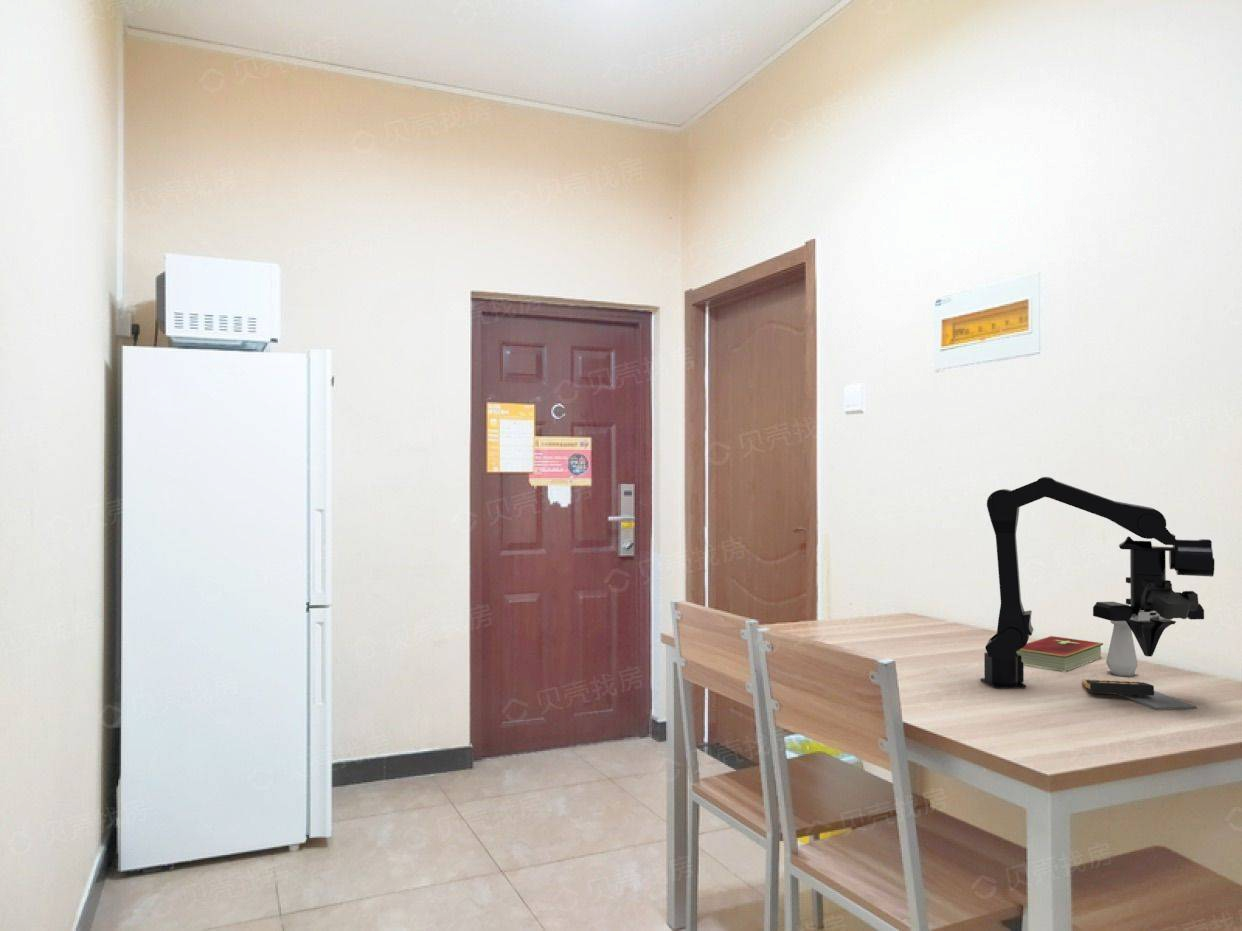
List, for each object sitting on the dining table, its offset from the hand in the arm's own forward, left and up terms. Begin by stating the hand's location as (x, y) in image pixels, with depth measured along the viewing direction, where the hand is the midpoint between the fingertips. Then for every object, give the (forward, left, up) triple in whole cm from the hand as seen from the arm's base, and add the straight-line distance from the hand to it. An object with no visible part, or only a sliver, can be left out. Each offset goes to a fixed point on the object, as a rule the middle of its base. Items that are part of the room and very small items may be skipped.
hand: (1148, 656), depth 163 cm
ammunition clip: (-5, +1, -6) cm, 8 cm away
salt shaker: (+9, +20, -9) cm, 24 cm away
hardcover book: (+3, +34, -9) cm, 35 cm away
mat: (+1, 0, -8) cm, 8 cm away
